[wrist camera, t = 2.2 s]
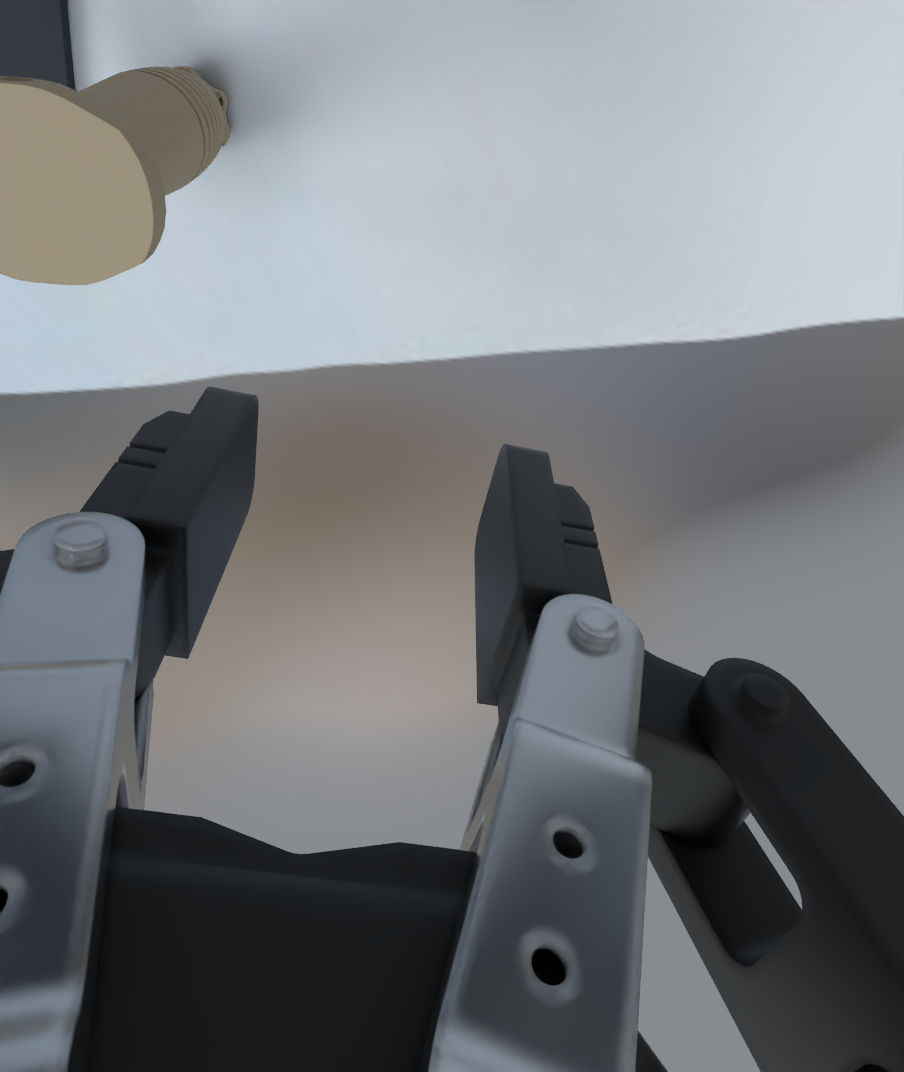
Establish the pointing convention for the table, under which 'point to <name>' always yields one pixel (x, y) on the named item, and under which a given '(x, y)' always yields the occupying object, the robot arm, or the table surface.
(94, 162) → the handle
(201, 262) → the table surface
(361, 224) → the table surface
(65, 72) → the mat
